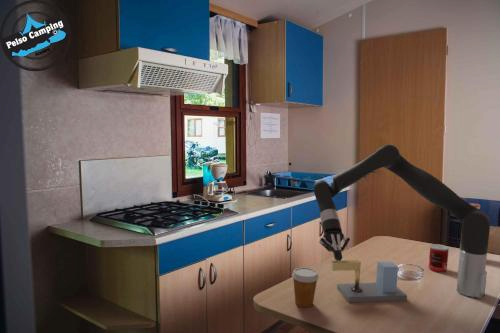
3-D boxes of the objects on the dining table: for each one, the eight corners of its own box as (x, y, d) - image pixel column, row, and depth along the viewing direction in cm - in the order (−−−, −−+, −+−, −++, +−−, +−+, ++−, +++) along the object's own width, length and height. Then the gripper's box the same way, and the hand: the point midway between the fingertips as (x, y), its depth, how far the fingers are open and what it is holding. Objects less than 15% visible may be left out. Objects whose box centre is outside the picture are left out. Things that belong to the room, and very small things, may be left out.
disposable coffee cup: (299, 295, 150) (301, 265, 148) (322, 303, 144) (323, 271, 142) (285, 303, 142) (287, 272, 141) (308, 312, 136) (310, 279, 135)
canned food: (442, 267, 185) (444, 244, 183) (449, 273, 177) (451, 249, 175) (425, 266, 185) (427, 243, 184) (431, 272, 177) (433, 248, 176)
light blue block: (389, 285, 156) (390, 261, 155) (396, 291, 151) (398, 266, 149) (375, 286, 155) (377, 261, 154) (382, 292, 150) (384, 267, 149)
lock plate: (391, 287, 160) (392, 276, 159) (406, 300, 148) (407, 289, 147) (337, 288, 157) (337, 277, 156) (348, 302, 145) (349, 290, 144)
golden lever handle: (357, 286, 153) (359, 260, 151) (360, 289, 150) (361, 262, 149) (329, 287, 151) (330, 260, 150) (331, 289, 149) (332, 263, 148)
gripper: (317, 217, 162) (325, 256, 151) (348, 217, 164) (358, 256, 153) (313, 226, 168) (320, 264, 157) (342, 226, 170) (352, 264, 159)
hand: (339, 260), depth 155 cm, fingers closed
